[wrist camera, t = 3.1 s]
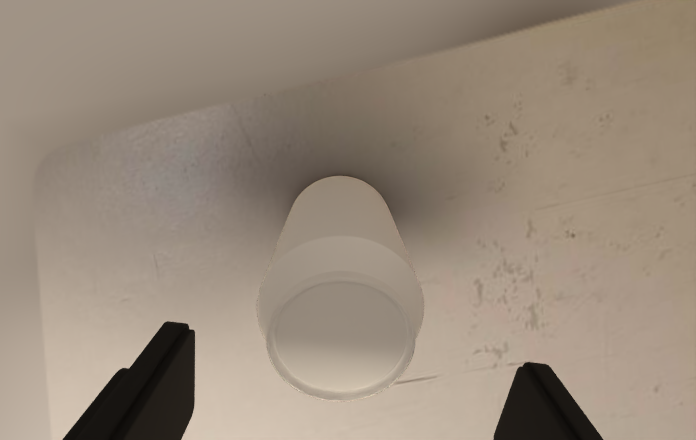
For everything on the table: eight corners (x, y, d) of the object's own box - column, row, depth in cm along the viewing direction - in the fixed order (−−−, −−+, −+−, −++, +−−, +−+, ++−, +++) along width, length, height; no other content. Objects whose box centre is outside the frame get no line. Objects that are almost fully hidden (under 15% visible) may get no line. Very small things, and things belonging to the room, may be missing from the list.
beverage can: (405, 239, 24) (464, 374, 13) (320, 280, 25) (306, 441, 14) (361, 153, 22) (385, 223, 11) (271, 201, 23) (206, 312, 12)
